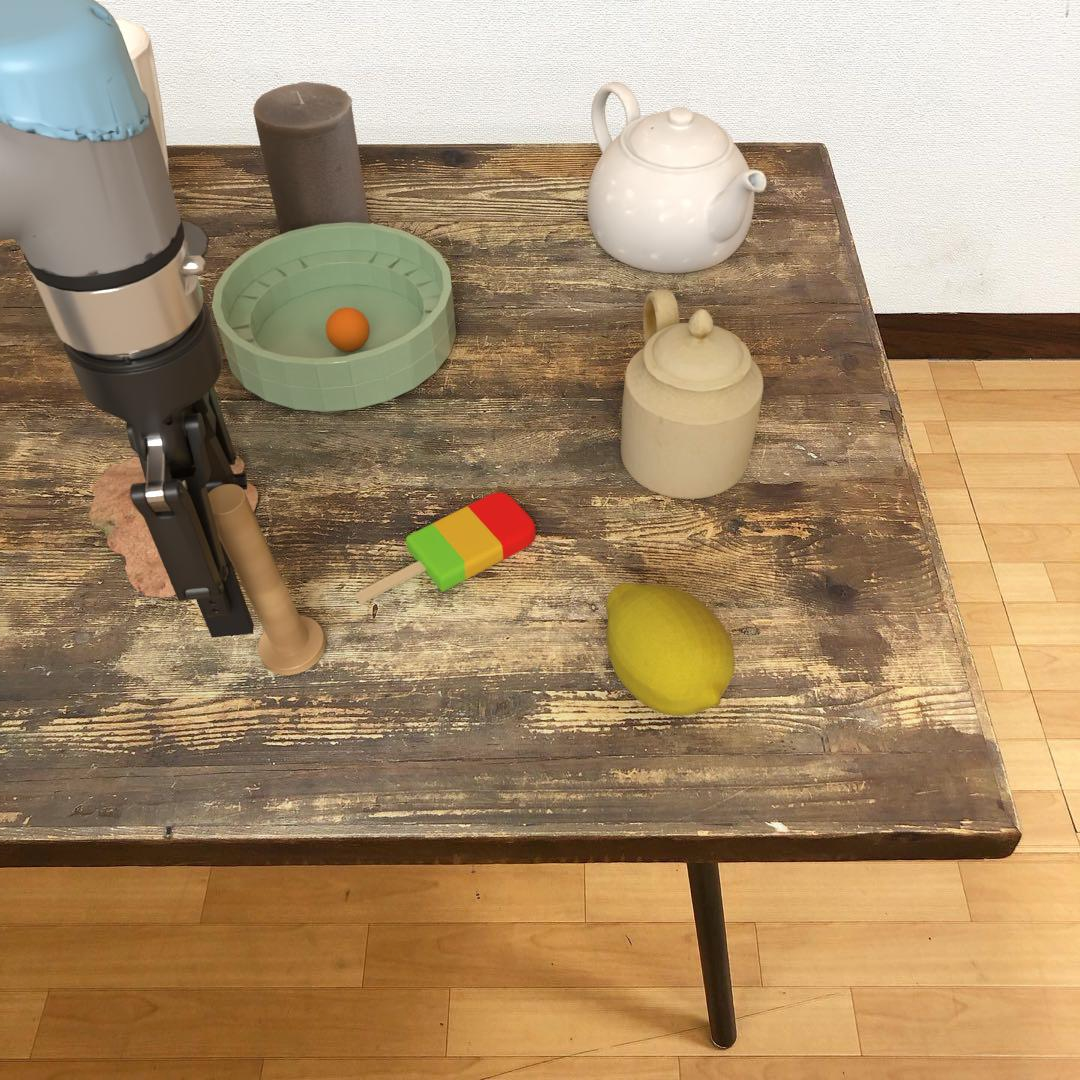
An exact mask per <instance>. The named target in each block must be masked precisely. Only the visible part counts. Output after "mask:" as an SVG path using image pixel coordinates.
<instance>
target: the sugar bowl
mask: <svg viewBox="0 0 1080 1080" xmlns="http://www.w3.org/2000/svg"><path fill="white" fill-rule="evenodd" d="M674 294H675V293H673V291H671V290H668V289H665V288H658V289H655V290H652V291H650V292H649V293H648V294H647V295H646V296H645V299H644V303H643V310H642V331H643V341H644V343H643V344H644V347H643V348H641V349H640V350H638V351H637V352H636V353H635V354H634V355H633V356H632V357H631V359H630V360H629V363H628V364H627V365H626V369H625V372H624V382H623V383H624V385H623V395H622V405H621V425H620V427H621V431H620V457H621V461H622V463H623V466H624V469H626V471H627V473H628V475H630V476H631V478H632V479H633V480H634V481H636V483H638V484H639V485H641V486H642V487H643V488H645V489H646V490H648V491H651V492H653V493H655V494H657V495H660V496H663V497H668V498H672V499H679V500H680V499H681V500H697V499H704V498H705V499H706V498H710V497H711V498H712V497H715V496H717V495H720V494H723V493H724V492H726V491H728V490H729V489H731V488H732V487H734V486H735V485H736V484H738V483H739V482H740V481H741V479H742V478H743V476H744V475H745V473H746V471H747V469H748V467H749V463H750V458H751V455H752V451H753V450H752V449H753V446H754V441H755V436H756V433H757V428H758V422H759V418H760V412H761V405H762V399H763V394H764V377H763V374H762V371H761V369H760V367H759V366H758V364H757V363H756V361H754V360H753V359H752V355H751V354H752V353H751V351H750V350H749V347H748V345H747V344H746V343H745V342H744V341H743V340H741V338H740V337H739V336H737V335H736V334H735V333H733V332H732V331H729V330H727V329H724V328H723V327H720V326H717V325H714V320H713V317H712V315H711V314H710V313H709V312H708V311H707V310H706V309H703V308H700V309H698V310H696V311H695V312H694V313H693V314H692V315H691V316H690V318H689V320H688V322H680V311H679V304H678V301H677V299H676V297H675V295H674Z"/></svg>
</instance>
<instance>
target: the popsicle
mask: <svg viewBox="0 0 1080 1080" xmlns="http://www.w3.org/2000/svg"><path fill="white" fill-rule="evenodd" d="M536 531H537V529H536V524H535V521H534V520H533V519H532V518H531V516H530V515H529V514H528V512H526V511H525V510H524V509H523V507H522V506H520V504H518V502H517V501H516V500H515V499H514V498H513V497H512V496H510V495H509V494H507V493H506V492H501V491H497V492H493V493H490V494H488V495H486V496H483V497H482V498H480V499H478V500H476V501H473V502H472V503H470V504H468V505H466V506H464V507H462V508H459V509H458V510H456V511H454V512H452V513H450V514H449V515H446V516H444V517H442V518H440V519H438V520H436V521H434V522H432V523H430V524H428V525H426V526H424V527H422V528H420V529H418V530H416V531H414V532H412V533H410V534H408V535H407V536H406V538H405V544H406V550H407V551H408V552H409V554H410V555H411V556H412V558H413V559H414V560H415V562H414V563H412V564H409V565H408V566H406V567H404V568H402V569H399V570H397V571H396V572H394V573H392V574H390V575H388V576H386V577H384V578H382V579H380V580H379V581H376V582H375V583H373V584H371V585H369V586H367V587H365V588H363V589H361V590H359V591H357V592H356V593H355V596H354V597H355V599H356V601H357V602H358V603H359V604H364V603H366V602H368V601H370V600H372V599H374V598H375V597H378V596H381V594H383V593H385V592H387V591H389V590H391V589H393V588H395V587H397V586H399V585H401V584H403V583H405V582H407V581H408V580H410V579H412V578H414V577H417V576H418V575H420V574H422V573H424V572H425V574H426V575H427V576H428V577H429V578H430V580H432V582H433V584H435V585H436V587H437V588H438V589H439V590H440V591H441V593H444V592H446V591H447V590H449V589H451V588H453V587H455V586H458V585H459V584H461V583H463V582H464V581H466V580H468V579H470V578H472V577H474V576H476V575H478V574H479V573H481V572H483V571H485V570H487V569H489V568H491V567H493V566H494V565H497V564H498V563H500V562H502V561H504V560H506V559H508V558H510V557H512V556H514V555H515V554H517V553H519V552H521V551H523V550H524V549H527V548H528V547H529V546H531V545H532V543H533V542H534V541H535V539H536V534H537V532H536Z"/></svg>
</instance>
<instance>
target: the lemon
mask: <svg viewBox="0 0 1080 1080" xmlns="http://www.w3.org/2000/svg"><path fill="white" fill-rule="evenodd" d="M605 603H606V604H605V607H606V616H607V626H606V634H605V638H606V640H605V641H606V648H607V654H608V656H609V657H608V658H609V660H610V663H611V665H612V668H613V670H614V673H615V675H616V676H617V678H618V679H619V682H620V683H621V684H622V685H623V686H624V688H625V689H626V691H628V692H629V693H630V694H631V695H632V696H633V697H634V698H636V700H638V701H639V702H640V703H641V704H643V705H644V706H646V707H648V708H649V709H651V710H653V711H655V712H657V713H661V714H663V715H667V716H673V717H683V716H691V715H694V714H698V713H701V712H704V711H706V710H708V709H710V708H717V707H718V706H720V704H721V701H722V699H721V698H722V696H723V695H724V693H725V692H726V690H727V689H728V687H729V685H730V682H731V681H732V678H733V676H734V672H735V666H736V661H735V652H734V645H733V643H732V639H731V637H730V635H729V632H728V631H727V629H726V628H725V626H724V625H723V623H722V622H721V620H720V619H719V618H718V617H717V615H716V614H715V613H714V612H713V610H711V609H710V608H709V607H708V606H707V605H706V604H704V603H703V602H702V601H701V600H699V599H698V598H697V597H695V596H694V595H693V594H691V593H689V592H686V591H685V590H682V589H679V588H675V587H672V586H668V585H663V584H641V583H632V582H622V583H620V584H618V585H616V586H615V587H614V588H613V589H611V591H609V594H608V596H607V598H606V602H605Z"/></svg>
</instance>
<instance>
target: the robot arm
mask: <svg viewBox="0 0 1080 1080" xmlns="http://www.w3.org/2000/svg"><path fill="white" fill-rule="evenodd" d="M181 220H182V218H181V214H180V211H179V208H178V204H177V200H176V197H175V193H174V190H173V186H172V182H171V179H170V174H169V175H168V172H167V168H166V165H165V161H164V157H163V154H162V150H161V147H160V143H159V140H158V136H157V133H156V129H155V126H154V122H153V118H152V115H151V111H150V105H149V101H148V97H147V95H146V94H145V93H144V92H143V91H142V89H141V87H140V84H139V81H138V78H137V75H136V72H135V70H134V67H133V64H132V61H131V58H130V55H129V53H128V50H127V47H126V44H125V41H124V39H123V36H122V33H121V31H120V28H119V26H118V24H117V22H116V21H115V19H114V15H113V14H112V13H110V11H109V10H108V9H107V8H106V7H105V6H103V5H102V4H101V3H99V2H98V1H96V0H0V242H3V241H8V240H14V241H15V242H16V244H17V246H18V247H19V248H20V250H21V252H22V254H23V258H24V260H25V262H26V265H27V267H28V270H29V272H30V275H31V278H32V279H33V282H34V284H35V286H36V287H35V288H36V289H37V291H38V294H39V296H40V298H41V301H42V303H43V305H44V308H45V310H46V312H47V315H48V318H49V320H50V322H51V324H52V327H53V330H54V332H55V333H56V335H57V336H58V338H59V339H60V341H61V342H62V344H63V349H64V351H65V353H66V356H67V359H68V360H69V363H70V365H71V368H72V370H73V373H74V374H75V377H76V379H77V381H78V383H79V386H80V388H81V390H82V393H83V394H84V396H85V397H86V399H87V400H88V401H89V402H90V403H91V404H92V405H93V406H94V407H95V408H97V409H98V410H100V411H103V412H104V413H106V414H109V415H111V416H113V417H115V418H118V419H120V420H121V421H123V422H125V423H126V433H127V438H128V441H129V444H130V447H131V450H133V451H134V452H135V453H136V454H137V457H139V459H140V463H141V466H142V470H143V473H144V477H145V480H146V483H135V484H132V485H131V488H130V497H131V500H132V502H133V504H134V506H135V507H136V508H137V510H138V511H139V512H140V514H141V515H142V516H143V517H144V519H145V522H146V524H147V526H148V529H149V531H150V533H151V536H152V538H153V541H154V543H155V545H156V548H157V550H158V553H159V555H160V557H161V560H162V562H163V565H164V567H165V569H166V572H167V574H168V577H169V579H170V582H171V584H172V586H173V588H174V591H175V593H176V595H175V596H176V598H177V600H178V601H179V602H184V601H194V600H196V603H197V606H198V607H199V611H200V612H201V615H202V617H203V620H204V623H205V625H206V627H207V630H208V632H209V634H210V637H211V639H212V638H224V637H233V636H234V637H235V636H243V635H244V636H245V635H252V634H253V635H254V628H255V627H254V626H255V624H254V620H253V619H252V615H251V613H250V610H249V607H248V605H247V601H246V598H245V597H244V596H245V595H244V593H243V590H242V588H241V585H240V581H239V578H238V576H237V574H236V572H235V570H234V567H233V565H232V562H231V561H230V559H229V557H228V555H227V553H226V551H225V549H224V547H223V545H222V543H221V541H220V539H219V536H218V532H217V528H216V524H215V520H214V516H213V512H212V508H211V504H210V500H209V496H208V493H209V492H210V491H211V490H213V489H214V488H216V487H218V486H221V485H225V484H235V485H238V486H240V487H241V488H242V489H243V490H247V483H248V476H247V473H246V472H242V473H238V474H234V473H233V471H232V469H231V467H230V465H235V461H236V458H237V456H236V454H237V452H236V451H235V448H234V444H233V443H232V439H231V436H230V434H229V433H230V432H229V430H228V426H227V424H226V420H225V417H224V414H223V411H222V408H221V405H220V402H219V398H218V395H217V393H216V390H215V384H216V383H217V381H218V379H219V377H220V375H221V373H222V370H223V363H224V361H223V359H224V358H223V352H222V349H221V346H220V343H219V339H218V336H217V332H216V329H215V326H214V322H213V319H212V316H211V312H210V309H209V307H208V305H207V304H206V302H204V301H205V300H204V292H203V289H202V286H201V283H200V279H199V276H201V275H204V274H205V272H206V271H207V263H206V261H205V259H204V258H203V256H202V257H201V256H190V254H189V250H188V247H187V240H186V237H185V234H184V227H183V224H182V221H181Z"/></svg>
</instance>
